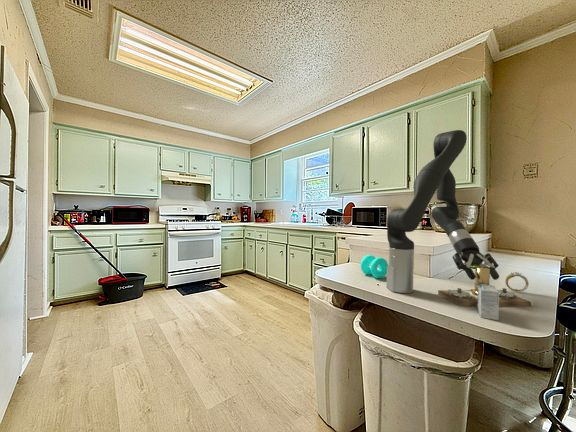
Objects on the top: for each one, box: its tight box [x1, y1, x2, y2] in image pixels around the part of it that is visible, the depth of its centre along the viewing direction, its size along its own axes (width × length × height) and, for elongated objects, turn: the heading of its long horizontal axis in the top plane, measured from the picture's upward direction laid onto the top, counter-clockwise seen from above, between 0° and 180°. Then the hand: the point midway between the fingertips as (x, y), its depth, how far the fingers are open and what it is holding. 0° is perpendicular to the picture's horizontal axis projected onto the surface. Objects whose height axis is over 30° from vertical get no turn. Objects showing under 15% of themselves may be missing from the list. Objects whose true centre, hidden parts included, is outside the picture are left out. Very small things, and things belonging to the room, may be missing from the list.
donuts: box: [360, 254, 389, 279], centre depth 123 cm, size 10×10×10 cm
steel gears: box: [448, 287, 519, 299], centre depth 92 cm, size 24×7×3 cm, turn 92°
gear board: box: [437, 289, 532, 307], centre depth 92 cm, size 25×12×2 cm, turn 92°
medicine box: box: [477, 284, 500, 321], centre depth 78 cm, size 8×4×9 cm, turn 148°
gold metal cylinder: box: [470, 266, 491, 296], centre depth 92 cm, size 7×6×10 cm
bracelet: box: [504, 271, 530, 293], centre depth 101 cm, size 7×3×8 cm, turn 56°
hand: (485, 278), depth 90 cm, fingers open, 8 cm apart
